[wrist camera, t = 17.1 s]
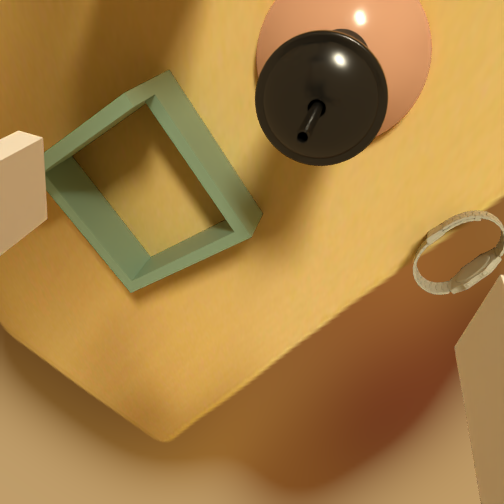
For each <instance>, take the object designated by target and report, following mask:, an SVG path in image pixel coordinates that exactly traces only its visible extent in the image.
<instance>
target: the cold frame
mask: <svg viewBox="0 0 504 504" xmlns="http://www.w3.org/2000/svg"><path fill="white" fill-rule="evenodd" d="M144 104H147V105H148V107H149V108H150V110H151V111H152V113H153V114H154V116H155V117H156V119H157V120H158V121H159V123H160V124H161V126H162V127H163V129H164V130H165V132H166V133H167V135H168V136H169V137H170V139H171V140H172V142H173V143H174V145H175V146H176V148H177V149H178V151H179V152H180V153H181V155H182V156H183V158H184V159H185V161H186V162H187V164H188V165H189V167H190V168H191V169H192V171H193V172H194V174H195V175H196V177H197V178H198V180H199V181H200V183H201V184H202V185H203V187H204V188H205V190H206V191H207V193H208V194H209V196H210V197H211V199H212V200H213V202H214V203H215V204H216V206H217V207H218V209H219V210H220V212H221V213H222V215H223V216H224V218H225V219H226V220H224V221H222V222H220V223H218V224H216V225H214V226H212V227H210V228H208V229H206V230H204V231H202V232H200V233H198V234H196V235H194V236H192V237H190V238H188V239H186V240H184V241H182V242H180V243H178V244H176V245H174V246H172V247H170V248H168V249H166V250H164V251H162V252H160V253H158V254H156V255H154V256H152V257H150V256H149V254H148V253H147V252H146V250H145V249H144V248H143V247H142V245H141V244H140V243H139V241H138V240H137V239H136V238H135V236H134V235H133V234H132V232H131V231H130V230H129V229H128V227H127V226H126V225H125V223H124V222H123V221H122V220H121V218H120V217H119V216H118V214H117V213H116V212H115V211H114V209H113V208H112V207H111V205H110V204H109V203H108V202H107V200H106V199H105V198H104V196H103V195H102V194H101V193H100V191H99V190H98V189H97V187H96V186H95V185H94V184H93V182H92V181H91V180H90V178H89V177H88V176H87V175H86V173H85V172H84V171H83V169H82V168H81V167H80V166H79V164H78V163H77V162H76V160H75V159H74V158H73V157H72V156H73V155H74V154H75V153H77V152H78V151H80V150H81V149H83V148H84V147H85V146H87V145H88V144H90V143H91V142H92V141H94V140H95V139H97V138H98V137H99V136H101V135H102V134H104V133H105V132H106V131H108V130H109V129H111V128H112V127H113V126H115V125H116V124H118V123H119V122H121V121H122V120H123V119H125V118H126V117H128V116H129V115H130V114H132V113H133V112H135V111H136V110H137V109H139V108H140V107H142V106H143V105H144ZM44 164H45V182H46V191H47V192H48V193H49V194H50V195H51V197H52V198H53V199H54V200H55V202H56V203H57V204H58V205H59V206H60V208H61V209H62V210H63V211H64V212H65V214H66V215H67V216H68V217H69V219H70V220H71V221H72V222H73V223H74V225H75V226H76V227H77V228H78V229H79V231H80V232H81V233H82V234H83V236H84V237H85V238H86V239H87V240H88V242H89V243H90V244H91V245H92V246H93V248H94V249H95V250H96V251H97V253H98V254H99V255H100V256H101V257H102V259H103V260H104V261H105V262H106V264H107V265H108V266H109V267H110V268H111V270H112V271H113V272H114V273H115V274H116V276H117V277H118V278H119V279H120V281H121V282H122V283H123V284H124V285H125V287H126V288H127V289H128V290H129V291H130V293H132V292H134V291H136V290H138V289H141V288H143V287H145V286H147V285H149V284H151V283H154V282H156V281H158V280H160V279H162V278H164V277H167V276H169V275H171V274H173V273H175V272H177V271H180V270H182V269H184V268H186V267H188V266H190V265H193V264H195V263H197V262H199V261H201V260H203V259H206V258H208V257H210V256H212V255H214V254H216V253H219V252H221V251H223V250H225V249H227V248H229V247H232V246H234V245H236V244H238V243H240V242H242V241H245V240H247V239H249V238H251V237H252V235H253V233H254V231H255V229H256V227H257V225H258V223H259V221H260V219H261V217H262V215H263V213H262V211H261V210H260V208H259V207H258V205H257V204H256V202H255V201H254V199H253V198H252V196H251V195H250V193H249V191H248V190H247V188H246V187H245V185H244V184H243V182H242V181H241V179H240V178H239V176H238V175H237V173H236V172H235V170H234V168H233V167H232V165H231V164H230V162H229V161H228V159H227V158H226V156H225V155H224V153H223V152H222V150H221V148H220V147H219V145H218V144H217V142H216V141H215V139H214V138H213V136H212V135H211V133H210V132H209V130H208V129H207V127H206V125H205V124H204V122H203V121H202V119H201V118H200V116H199V115H198V113H197V112H196V110H195V109H194V107H193V105H192V104H191V102H190V101H189V99H188V98H187V96H186V95H185V93H184V92H183V90H182V89H181V87H180V86H179V84H178V82H177V81H176V79H175V78H174V76H173V75H172V73H171V72H170V70H168V71H166V72H164V73H162V74H160V75H158V76H156V77H154V78H152V79H150V80H148V81H146V82H144V83H142V84H140V85H138V86H137V87H135V88H133V89H131V90H129V91H127V92H125V93H123V94H122V95H121V96H119V97H118V98H117V99H115V100H114V101H113V102H111V103H110V104H109V105H107V106H106V107H105V108H103V109H102V110H101V111H99V112H98V113H96V114H95V115H94V116H92V117H91V118H90V119H88V120H87V121H86V122H84V123H83V124H82V125H80V126H79V127H78V128H76V129H75V130H74V131H72V132H71V133H70V134H68V135H67V136H66V137H64V138H63V139H62V140H60V141H59V142H58V143H56V144H55V145H54V146H52V147H51V148H50V149H48V150H47V151H46V152H44Z"/></svg>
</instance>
